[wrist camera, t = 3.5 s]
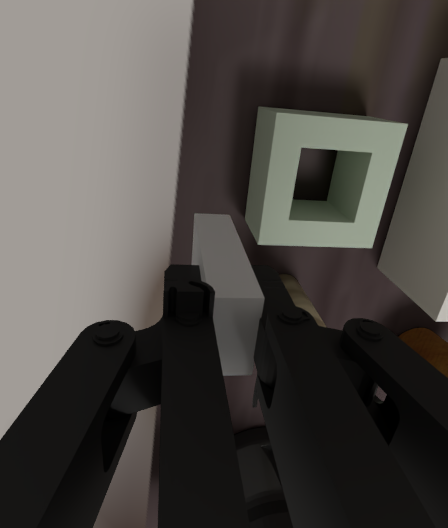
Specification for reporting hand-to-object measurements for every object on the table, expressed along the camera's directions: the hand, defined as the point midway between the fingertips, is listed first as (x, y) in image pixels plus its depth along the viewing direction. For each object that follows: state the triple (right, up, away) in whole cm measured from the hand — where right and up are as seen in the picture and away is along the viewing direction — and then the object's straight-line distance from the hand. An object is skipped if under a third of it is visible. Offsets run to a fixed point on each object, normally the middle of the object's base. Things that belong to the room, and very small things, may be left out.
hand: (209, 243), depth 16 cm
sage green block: (+8, +8, +18) cm, 21 cm away
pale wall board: (+19, +8, +20) cm, 28 cm away
